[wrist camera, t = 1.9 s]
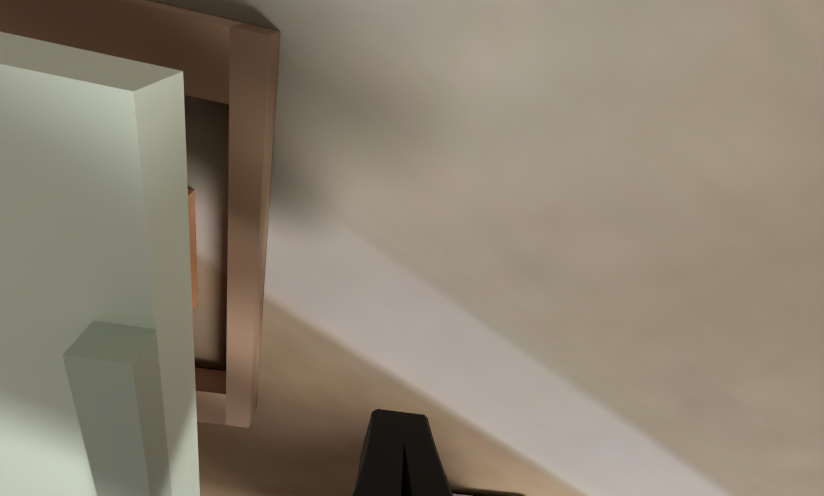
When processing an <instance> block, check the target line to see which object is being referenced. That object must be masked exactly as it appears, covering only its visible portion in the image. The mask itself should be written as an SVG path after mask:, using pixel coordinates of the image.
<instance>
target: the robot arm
mask: <svg viewBox="0 0 824 496" xmlns="http://www.w3.org/2000/svg"><path fill="white" fill-rule="evenodd" d="M353 496H471V495H461V494H453V493H452V491H451V488H450V486H449V483H448V481H447V478H446V475H445V473H444V470H443V467H442V464H441V461H440V458H439V455H438V452H437V449H436V446H435V443H434V440H433V437H432V433H431V430H430V426H429V422H428V419H427V417H426V416H425V415H420V414H412V413H404V412H396V411H388V410H380V409H377V410H375V411H373V412H372V414H371V418H370V422H369V426H368V430H367V433H366V437H365V441H364V445H363V449H362V452H361V457H360V465H359V471H358V477H357V482H356V487H355V491H354V493H353Z"/></svg>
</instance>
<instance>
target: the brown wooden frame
mask: <svg viewBox="0 0 824 496" xmlns="http://www.w3.org/2000/svg"><path fill="white" fill-rule="evenodd" d="M0 32H4V33H9V34H14V35H18V36H23V37H28V38H32V39H37V40H41V41H46V42H51V43H55V44H60V45H65V46H69V47H74V48H78V49H83V50H88V51H92V52H97V53H102V54H106V55H111V56H115V57H120V58H125V59H129V60H134V61H139V62H143V63H148V64H152V65H157V66H162V67H166V68H171V69H176V70H180V71H183V81H184V95H187V96H191V97H196V98H201V99H206V100H210V101H215V102H220V103H225V104H229V166H228V258H227V351H226V371H220V370H212V369H204V368H197V367H195V384H196V410H197V422H201V423H210V424H219V425H228V426H236V427H245V428H249V427H250V424H251V421H252V418H253V415H254V412H255V409H256V406H257V392H258V376H259V360H260V344H261V328H262V312H263V297H264V281H265V265H266V249H267V233H268V217H269V201H270V186H271V170H272V154H273V138H274V122H275V106H276V91H277V75H278V59H279V43H280V31H277V30H273V29H268V28H264V27H260V26H256V25H251V24H247V23H243V22H238V21H234V20H230V19H226V18H221V17H217V16H213V15H209V14H204V13H200V12H196V11H192V10H187V9H183V8H179V7H175V6H170V5H166V4H162V3H157V2H153V1H149V0H0Z"/></svg>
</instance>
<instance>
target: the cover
mask: <svg viewBox="0 0 824 496" xmlns="http://www.w3.org/2000/svg"><path fill="white" fill-rule="evenodd" d="M0 496H200V486H199V460H198V435H197V410H196V384H195V359H194V334H193V309H192V283H191V258H190V233H189V207H188V182H187V157H186V131H185V106H184V81H183V71H180V70H176V69H171V68H166V67H162V66H157V65H152V64H148V63H143V62H139V61H134V60H129V59H125V58H120V57H115V56H111V55H106V54H102V53H97V52H92V51H88V50H83V49H78V48H74V47H69V46H65V45H60V44H55V43H51V42H46V41H41V40H37V39H32V38H28V37H23V36H18V35H14V34H9V33H4V32H0Z"/></svg>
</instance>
